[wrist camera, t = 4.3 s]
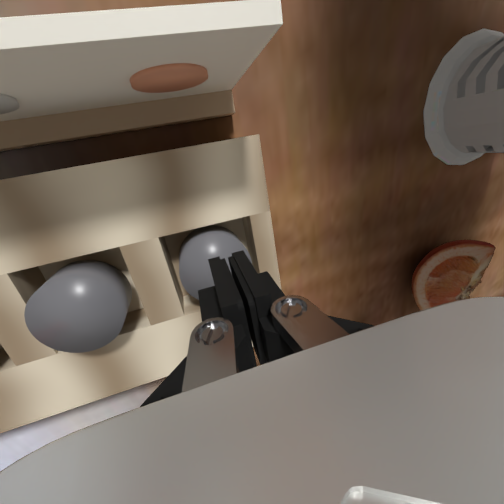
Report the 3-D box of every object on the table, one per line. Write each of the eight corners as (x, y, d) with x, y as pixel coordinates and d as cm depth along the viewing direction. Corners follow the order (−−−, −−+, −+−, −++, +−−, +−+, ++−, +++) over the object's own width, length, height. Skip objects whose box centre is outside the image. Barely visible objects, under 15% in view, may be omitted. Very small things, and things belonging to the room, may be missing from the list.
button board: (243, 138, 17) (258, 134, 14) (272, 310, 22) (287, 334, 19) (-197, 217, 13) (-323, 236, 9) (-30, 405, 18) (-74, 458, 15)
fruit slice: (434, 303, 28) (483, 331, 24) (386, 307, 26) (429, 338, 22) (461, 231, 25) (522, 246, 21) (409, 229, 24) (464, 245, 19)
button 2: (236, 218, 17) (245, 227, 15) (247, 275, 19) (257, 291, 16) (170, 234, 16) (169, 246, 14) (188, 291, 18) (190, 311, 16)
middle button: (116, 251, 15) (105, 268, 12) (142, 312, 16) (136, 337, 14) (33, 271, 14) (5, 293, 12) (68, 333, 16) (50, 363, 13)
